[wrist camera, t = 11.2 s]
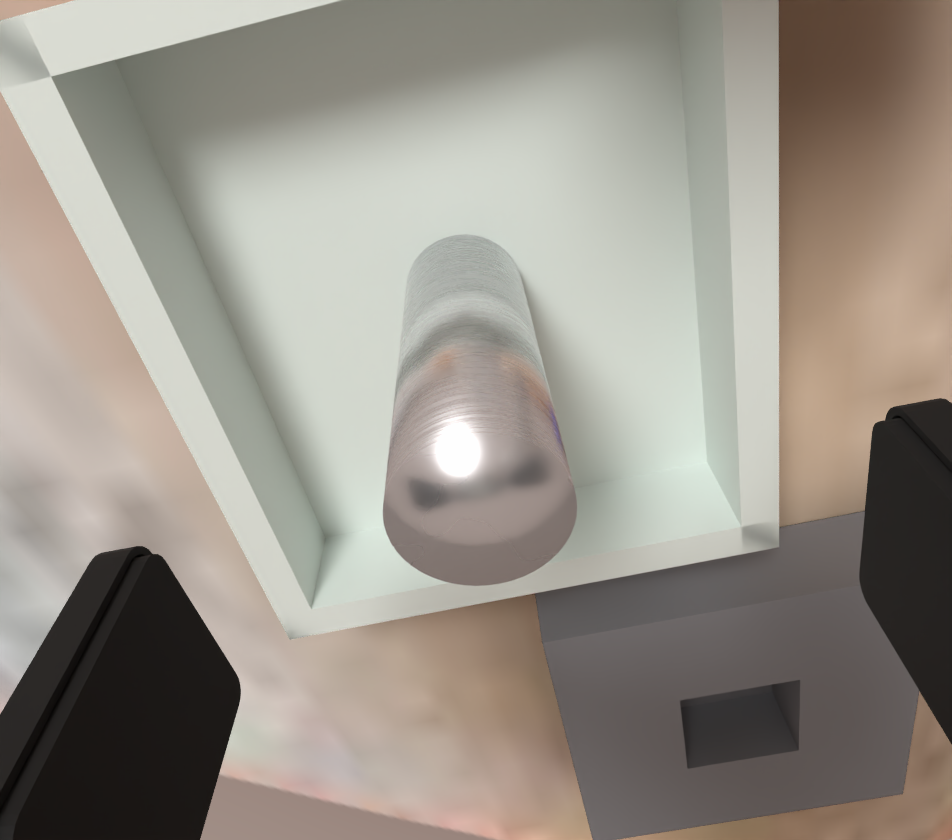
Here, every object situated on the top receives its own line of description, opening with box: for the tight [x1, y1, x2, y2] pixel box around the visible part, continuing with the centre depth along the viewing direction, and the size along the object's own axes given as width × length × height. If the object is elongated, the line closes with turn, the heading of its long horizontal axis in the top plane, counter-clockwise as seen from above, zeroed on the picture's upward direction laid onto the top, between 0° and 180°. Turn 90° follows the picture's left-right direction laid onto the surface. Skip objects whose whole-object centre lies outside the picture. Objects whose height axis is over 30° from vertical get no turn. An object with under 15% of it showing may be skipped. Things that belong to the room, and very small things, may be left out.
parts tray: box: [0, 0, 779, 639], centre depth 18 cm, size 14×16×4 cm
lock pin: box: [383, 234, 577, 586], centre depth 15 cm, size 3×3×9 cm
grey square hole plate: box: [535, 511, 919, 840], centre depth 27 cm, size 12×12×3 cm
